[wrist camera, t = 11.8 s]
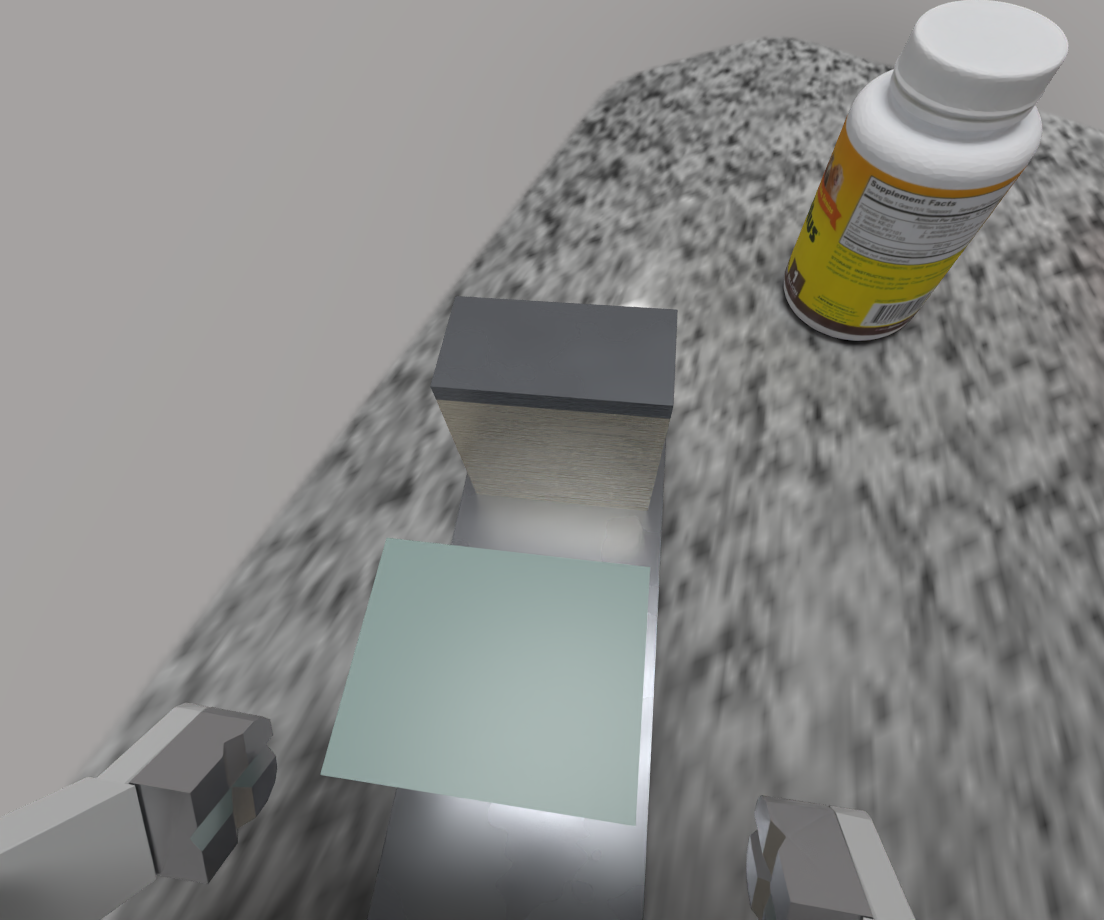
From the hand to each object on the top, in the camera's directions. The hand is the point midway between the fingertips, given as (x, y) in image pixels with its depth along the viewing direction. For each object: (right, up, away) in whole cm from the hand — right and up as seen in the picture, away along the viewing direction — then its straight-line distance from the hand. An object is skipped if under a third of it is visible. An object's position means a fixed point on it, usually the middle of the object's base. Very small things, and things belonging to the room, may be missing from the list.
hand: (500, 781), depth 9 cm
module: (0, -2, +7) cm, 8 cm away
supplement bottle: (+14, +12, +16) cm, 24 cm away
